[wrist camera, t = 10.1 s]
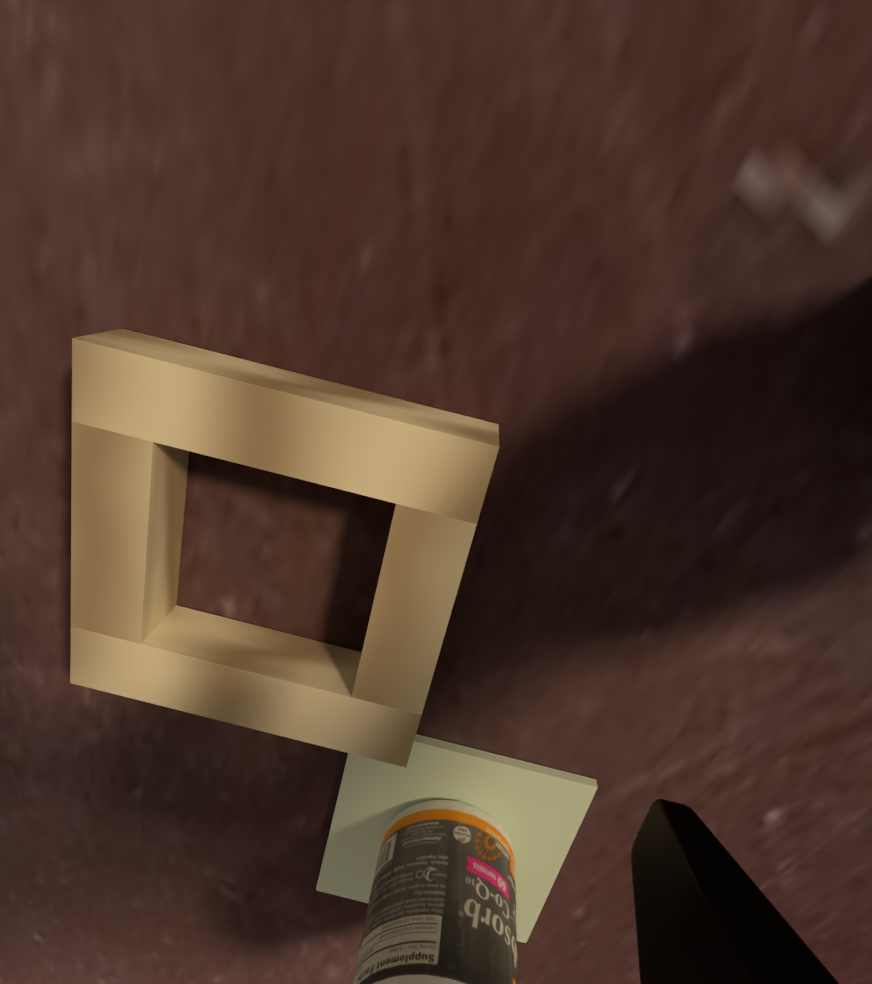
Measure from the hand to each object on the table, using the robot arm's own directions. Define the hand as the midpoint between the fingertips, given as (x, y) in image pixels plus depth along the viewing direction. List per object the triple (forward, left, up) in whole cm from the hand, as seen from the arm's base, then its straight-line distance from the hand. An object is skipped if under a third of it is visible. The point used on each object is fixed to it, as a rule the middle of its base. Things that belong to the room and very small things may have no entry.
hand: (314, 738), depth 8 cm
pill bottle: (-5, +17, -13) cm, 22 cm away
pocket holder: (+4, +5, -13) cm, 14 cm away
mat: (-5, +17, -13) cm, 22 cm away
